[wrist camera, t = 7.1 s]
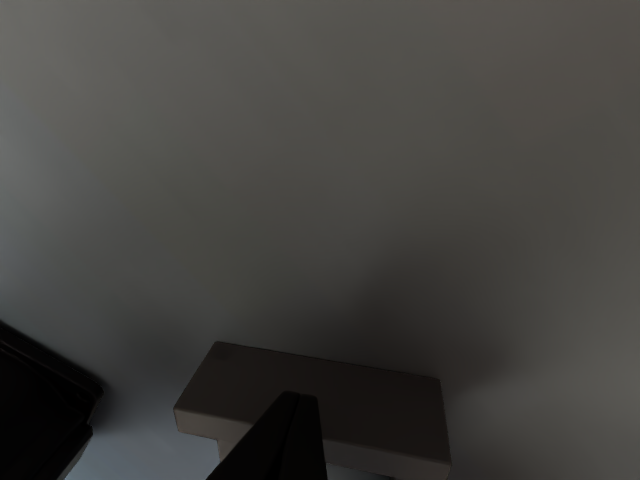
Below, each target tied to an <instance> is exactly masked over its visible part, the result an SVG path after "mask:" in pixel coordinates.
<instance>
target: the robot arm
mask: <svg viewBox="0 0 640 480" xmlns="http://www.w3.org/2000/svg"><path fill="white" fill-rule="evenodd" d="M103 395H104V391H103V388H102V387H101V386H100V385H99V384H98V383H96V382H95V381H93V380H92V379H90V378H88V377H86V376H85V375H83V374H81V373H79V372H78V371H76V370H74V369H72V368H71V367H69V366H67V365H65V364H63V363H62V362H60V361H58V360H56V359H55V358H53V357H51V356H49V355H48V354H46V353H44V352H42V351H41V350H39V349H37V348H35V347H34V346H32V345H30V344H28V343H27V342H25V341H23V340H21V339H20V338H18V337H16V336H14V335H13V334H11V333H9V332H7V331H6V330H4V329H2V328H0V480H64V478H65V477H66V476H67V475H68V473H69V472H70V471H71V469H72V468H73V467H74V466H75V464H76V463H77V462H78V461H79V459H80V458H81V456H82V454H83V452H84V450H85V448H86V447H87V445H88V443H89V441H90V439H91V437H92V435H93V429H92V426H90V425H89V423H90V421H91V419H92V417H93V415H94V413H95V411H96V409H97V407H98V405H99V403H100V401H101V399H102V397H103ZM206 480H328V478H327V470H326V462H325V454H324V446H323V438H322V431H321V423H320V415H319V407H318V400H317V397H316V396H314V395H309V394H301V395H300V394H299V393H298V392H293V391H288V390H285V391H283V392H282V393H281V394H280V395H279V396H278V397H277V398H276V400H275V401H274V402H273V403H272V404H271V405H270V406H269V408H268V409H267V410H266V411H265V412H264V413H263V414H262V416H261V417H260V418H259V419H258V420H257V421H256V422H255V424H254V425H253V426H252V427H251V428H250V429H249V430H248V432H247V433H246V434H245V435H244V436H243V437H242V438H241V440H240V441H239V442H238V443H237V444H236V445H235V446H234V448H233V449H232V450H231V451H230V452H229V453H228V455H227V456H226V457H225V458H224V459H223V460H222V461H221V463H220V464H219V465H218V466H217V467H216V468H215V469H214V471H213V472H212V473H211V474H210V475H209V476H208V477H207V479H206Z"/></svg>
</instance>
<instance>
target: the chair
mask: <svg viewBox="0 0 640 480" xmlns="http://www.w3.org/2000/svg"><path fill="white" fill-rule="evenodd" d="M285 390H288V391H293V392H298V393H299V394H300V395H301V394H309V395H314V396H316V397H317V400H318V407H319V415H320V423H321V431H322V438H323V446H324V454H325V462H326V463H328V464H333V465H338V466H343V467H347V468H352V469H357V470H361V471H366V472H371V473H376V474H380V475H385V476H390V480H447V477H448V474H449V471H450V468H451V466H452V460H451V453H450V446H449V438H448V431H447V424H446V417H445V410H444V403H443V395H442V388H441V382H440V380H439V379H434V378H428V377H422V376H416V375H410V374H404V373H398V372H392V371H386V370H381V369H375V368H369V367H363V366H357V365H351V364H345V363H339V362H333V361H327V360H321V359H316V358H310V357H304V356H298V355H292V354H286V353H280V352H274V351H268V350H262V349H256V348H250V347H245V346H239V345H233V344H227V343H221V342H214V344H213V345H212V347H211V349H210V350H209V352H208V353H207V355H206V357H205V358H204V360H203V361H202V363H201V365H200V366H199V368H198V369H197V371H196V372H195V374H194V376H193V377H192V379H191V380H190V382H189V384H188V385H187V387H186V388H185V390H184V392H183V393H182V395H181V396H180V398H179V399H178V401H177V403H176V404H175V406H174V408H173V410H174V414H175V419H176V423H177V427H178V431H179V432H182V433H187V434H192V435H196V436H201V437H206V438H210V439H215V440H217V443H218V450H219V456H220V462H221V461H222V460H223V459H224V458H225V457H226V456H227V455H228V453H229V452H230V451H231V450H232V449H233V448H234V446H235V445H236V444H237V443H238V442H239V441H240V440H241V438H242V437H243V436H244V435H245V434H246V433H247V432H248V430H249V429H250V428H251V427H252V426H253V425H254V424H255V422H256V421H257V420H258V419H259V418H260V417H261V416H262V414H263V413H264V412H265V411H266V410H267V409H268V408H269V406H270V405H271V404H272V403H273V402H274V401H275V400H276V398H277V397H278V396H279V395H280V394H281V393H282V392H283V391H285Z"/></svg>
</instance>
